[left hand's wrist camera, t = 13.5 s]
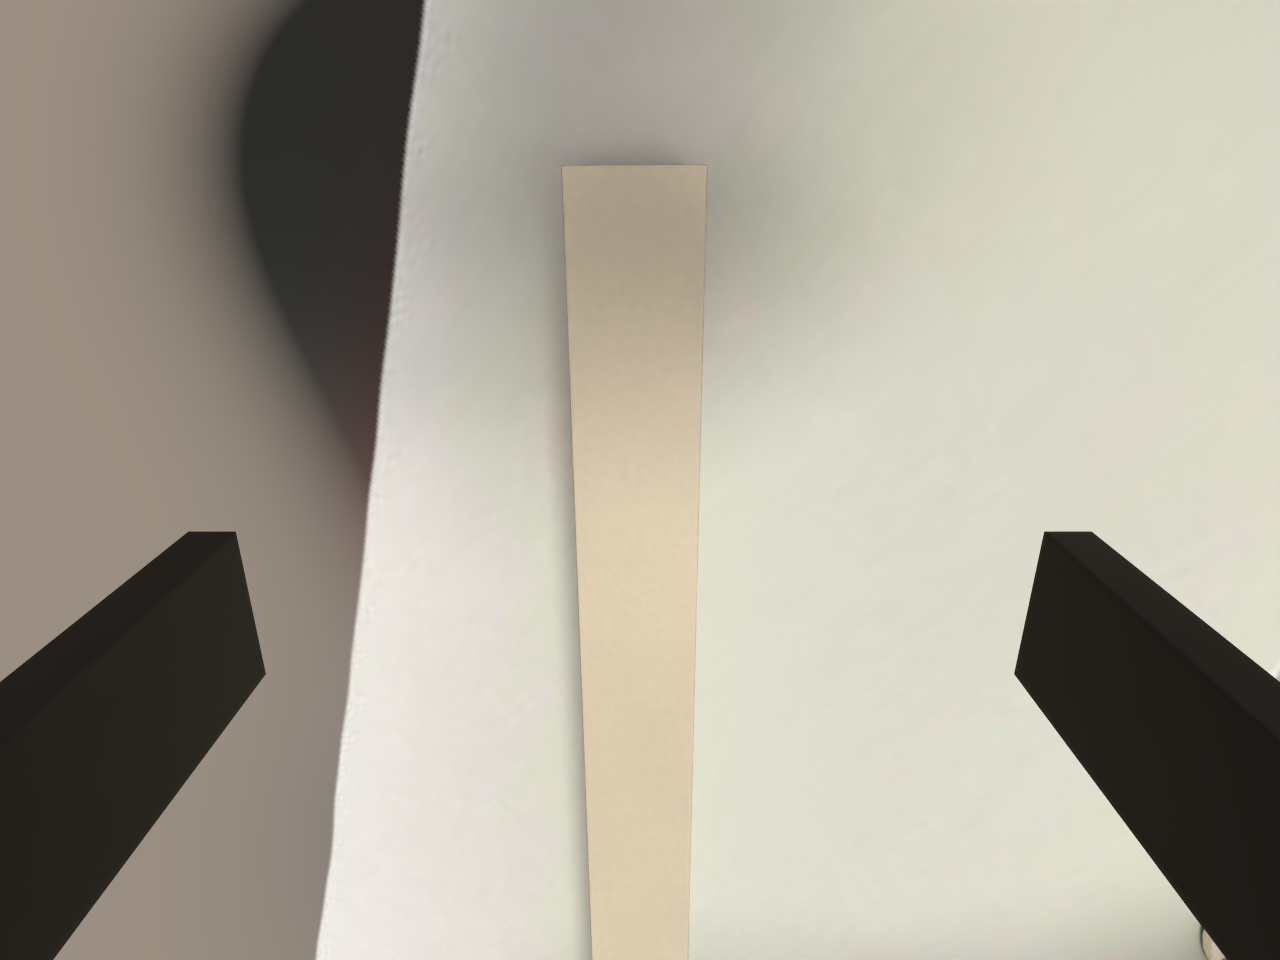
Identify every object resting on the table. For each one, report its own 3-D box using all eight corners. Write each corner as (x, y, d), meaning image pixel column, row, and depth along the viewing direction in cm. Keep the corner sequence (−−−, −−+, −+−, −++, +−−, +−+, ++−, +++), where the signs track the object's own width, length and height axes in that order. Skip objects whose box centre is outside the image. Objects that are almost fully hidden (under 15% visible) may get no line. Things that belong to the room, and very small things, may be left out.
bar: (574, 167, 37) (561, 165, 30) (692, 167, 37) (707, 164, 30) (605, 1102, 62) (602, 1225, 55) (675, 1101, 62) (681, 1224, 55)
